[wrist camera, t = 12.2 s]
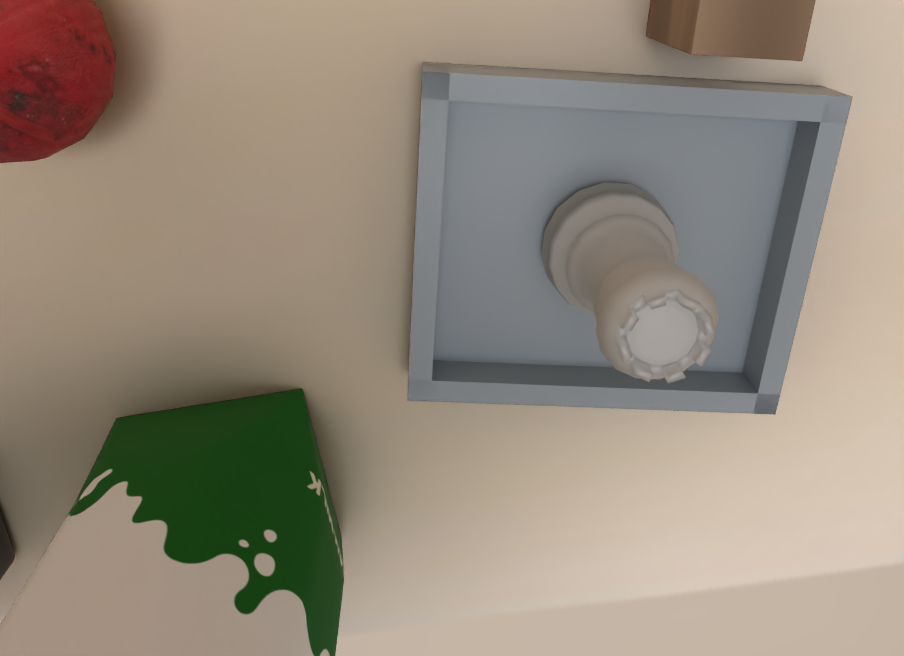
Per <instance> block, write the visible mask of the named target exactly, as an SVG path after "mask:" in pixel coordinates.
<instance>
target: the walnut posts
mask: <svg viewBox="0 0 904 656" xmlns="http://www.w3.org/2000/svg"><path fill="white" fill-rule="evenodd" d="M814 5H815V0H651V3H650V10H649V17H648V24H647V31H646V36H647V37H650V38H652V39H655V40H657V41H659V42H662V43H664V44H667V45H669V46H672V47H674V48H677V49H679V50H682V51H684V52H687V53H689V54H695V55H711V56H727V57H744V58H760V59H776V60H792V61H802V60H803V55H804V51H805V46H806V42H807V37H808V32H809V28H810V23H811V19H812V14H813V9H814Z"/></svg>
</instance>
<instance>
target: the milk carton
mask: <svg viewBox="0 0 904 656" xmlns="http://www.w3.org/2000/svg"><path fill="white" fill-rule="evenodd" d="M343 583H344V566H343V552H342V538H341V534H340V530H339V526H338V523H337V519H336V515H335V511H334V507H333V504H332V500H331V496H330V492H329V488H328V485H327V481H326V477H325V473H324V469H323V465H322V462H321V458H320V454H319V450H318V446H317V443H316V439H315V435H314V431H313V427H312V424H311V420H310V416H309V412H308V408H307V405H306V401H305V397H304V393H303V390H302V389H297V390H291V391H285V392H279V393H272V394H266V395H260V396H254V397H247V398H241V399H235V400H228V401H222V402H216V403H210V404H203V405H197V406H191V407H184V408H178V409H172V410H166V411H159V412H153V413H147V414H140V415H134V416H128V417H121V418H117V419H116V420H115V422H114V424H113V426H112V428H111V430H110V432H109V435H108V437H107V439H106V441H105V443H104V445H103V447H102V449H101V451H100V453H99V455H98V457H97V459H96V461H95V463H94V465H93V467H92V469H91V471H90V473H89V475H88V477H87V479H86V481H85V483H84V486H83V488H82V490H81V492H80V494H79V496H78V498H77V500H76V502H75V504H74V505H73V507H72V509H71V511H70V512H69V514H68V516H67V517H66V519H65V520H64V522H63V524H62V525H61V527H60V529H59V530H58V532H57V534H56V535H55V537H54V538H53V540H52V542H51V543H50V545H49V547H48V548H47V550H46V551H45V553H44V555H43V556H42V558H41V559H40V561H39V563H38V564H37V566H36V568H35V569H34V571H33V572H32V574H31V576H30V577H29V579H28V581H27V582H26V584H25V585H24V587H23V589H22V590H21V592H20V594H19V595H18V597H17V598H16V600H15V602H14V603H13V605H12V606H11V608H10V610H9V611H8V613H7V615H6V616H5V618H4V619H3V621H2V623H1V624H0V656H16V655H21V654H23V656H335V651H336V644H337V635H338V627H339V618H340V610H341V601H342V592H343Z"/></svg>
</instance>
